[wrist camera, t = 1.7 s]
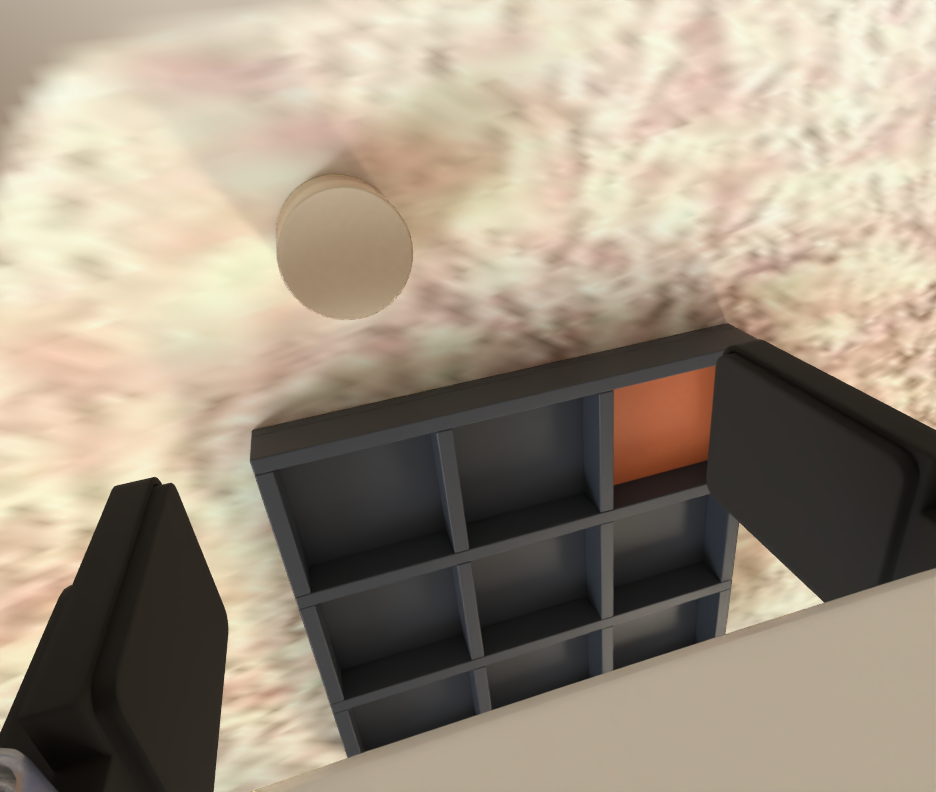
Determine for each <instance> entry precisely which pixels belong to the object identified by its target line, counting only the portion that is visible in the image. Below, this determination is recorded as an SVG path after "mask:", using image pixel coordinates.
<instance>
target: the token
mask: <svg viewBox="0 0 936 792" xmlns="http://www.w3.org/2000/svg"><path fill="white" fill-rule="evenodd" d="M276 249H277V262H278V267H279V271H280V274H281V277H282V279H283V281H284V283H285V285H286V286H287V288H288V289H289V291H290V292H291V294H292V295H293V296H294V297H295V298H296V299H297V300H298V301H299V302H300V303H301V304H302V305H304V306H305V307H306V308H308V309H309V310H311V311H313V312H315V313H317V314H319V315H322V316H325V317H328V318H332V319H339V320H353V319H360V318H364V317H368V316H370V315H373V314H375V313H377V312H379V311H381V310H382V309H384V308H385V307H387V306H388V305H389V304H390V303H391V302H393V301H394V300H395V299H396V297H397V296H398V295H399V294H400V293H401V291H402V289H403V288H404V286H405V284H406V282H407V280H408V278H409V275H410V272H411V267H412V262H413V248H412V241H411V237H410V233H409V231H408V228H407V226H406V224H405V222H404V220H403V218H402V217H401V216H400V214H399V213H398V212H397V210H396V209H395V208H394V207H393V206H392V205H391V204H390V203H389V202H388V201H387V200H386V199H385V198H384V197H383V196H382V195H381V194H380V192H378V191H377V190H376V189H375V188H374V187H372V186H371V185H369V184H368V183H366V182H364V181H362V180H360V179H358V178H355V177H352V176H347V175H339V174H331V175H323V176H319V177H316V178H313V179H311V180H309V181H307V182H305V183H303V184H302V185H300V186H299V187H298V188H296V189H295V190H294V191H293V192H292V193H291V194H290V196H289V197H288V198H287V200H286V201H285V203H284V205H283V206H282V208H281V211H280V214H279V216H278V221H277V228H276Z"/></svg>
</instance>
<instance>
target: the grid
mask: <svg viewBox="0 0 936 792" xmlns="http://www.w3.org/2000/svg"><path fill="white" fill-rule="evenodd" d="M753 340H758V339H756V338H755V337H753V336H751V335H749V334H747V333H745V332H743V331H741V330H739V329H738V328H735V327H734V326H732V325H730V324H723V325H719V326H714V327H710V328H706V329H701V330H697V331H692V332H688V333H683V334H679V335H674V336H670V337H666V338H661V339H657V340H652V341H648V342H643V343H639V344H634V345H630V346H626V347H621V348H617V349H612V350H608V351H603V352H599V353H594V354H590V355H585V356H581V357H577V358H572V359H568V360H563V361H559V362H554V363H550V364H545V365H541V366H537V367H532V368H528V369H523V370H519V371H514V372H510V373H505V374H501V375H496V376H492V377H488V378H483V379H479V380H474V381H470V382H465V383H461V384H456V385H452V386H448V387H443V388H439V389H434V390H430V391H425V392H421V393H416V394H412V395H408V396H403V397H399V398H394V399H390V400H385V401H381V402H376V403H372V404H367V405H363V406H359V407H354V408H350V409H345V410H341V411H336V412H332V413H327V414H323V415H319V416H314V417H310V418H305V419H301V420H296V421H292V422H287V423H283V424H279V425H274V426H270V427H265V428H261V429H256V430H253V431H252V437H251V453H250V463H251V466H252V469H253V472H254V474H255V478H256V481H257V484H258V487H259V490H260V493H261V496H262V499H263V502H264V505H265V508H266V511H267V515H268V518H269V521H270V524H271V527H272V530H273V533H274V536H275V539H276V542H277V545H278V548H279V551H280V554H281V557H282V560H283V563H284V566H285V569H286V572H287V575H288V578H289V581H290V584H291V587H292V590H293V593H294V596H295V599H296V602H297V605H298V608H299V611H300V614H301V618H302V621H303V624H304V627H305V630H306V633H307V636H308V639H309V642H310V645H311V648H312V651H313V654H314V657H315V660H316V663H317V666H318V669H319V672H320V675H321V678H322V681H323V684H324V687H325V690H326V693H327V696H328V699H329V702H330V705H331V708H332V712H333V715H334V718H335V721H336V724H337V727H338V730H339V733H340V736H341V739H342V742H343V745H344V748H345V751H346V754H347V757H348V758H350V757H352V756H355V755H358V754H361V753H364V752H367V751H370V750H373V749H376V748H379V747H382V746H385V745H388V744H391V743H394V742H397V741H400V740H403V739H406V738H409V737H412V736H415V735H418V734H421V733H424V732H427V731H430V730H434V729H437V728H440V727H443V726H446V725H449V724H452V723H455V722H458V721H461V720H464V719H467V718H470V717H473V716H476V715H479V714H482V713H485V712H488V711H491V710H494V709H497V708H500V707H503V706H506V705H509V704H512V703H515V702H519V701H522V700H525V699H528V698H531V697H534V696H537V695H540V694H543V693H546V692H549V691H552V690H555V689H558V688H561V687H564V686H567V685H570V684H573V683H576V682H580V681H583V680H586V679H589V678H592V677H595V676H598V675H601V674H604V673H607V672H610V671H613V670H617V669H620V668H623V667H626V666H629V665H632V664H635V663H638V662H641V661H644V660H647V659H651V658H654V657H657V656H660V655H663V654H666V653H669V652H672V651H675V650H678V649H681V648H685V647H688V646H691V645H694V644H697V643H700V642H703V641H706V640H709V639H713V638H716V637H719V636H722V635H725V632H726V624H727V616H728V608H729V600H730V592H731V584H732V575H733V567H734V559H735V551H736V543H737V535H738V527H739V522H738V521H737V520H736V519H735V518H734V517H733V516H732V515H731V514H730V513H729V512H728V511H727V510H726V509H725V508H724V507H723V506H722V505H720V504H719V503H718V502H717V501H716V500H715V499H714V498H713V496H712V495H711V493H710V492H709V489H708V487H707V482H706V475H707V463H708V452H709V440H710V428H711V416H712V404H713V392H714V380H715V368H716V362H717V360H718V358H719V357H720V356H722V355H723V352H724V351H725V349H726V348H727V347H728V346H731V345H736V344H740V343H745V342H749V341H753Z"/></svg>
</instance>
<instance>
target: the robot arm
mask: <svg viewBox="0 0 936 792" xmlns="http://www.w3.org/2000/svg"><path fill="white" fill-rule="evenodd" d="M706 482H707V487H708V489H709V492H710V493H711V495H712V496H713V498H714V499H715V500H716V501H717V502H718V503H719V504H720V505H722V506H723V507H724V508H725V509H726V510H727V511H728V512H729V513H730V514H731V515H732V516H733V517H734V518H735V519H736V520H737V521H738V522H740V523H741V524H742V525H743V526H744V527H745V528H746V529H747V530H748V531H749V532H750V533H751V534H752V535H753V536H754V537H755V538H756V539H758V540H759V541H760V542H761V543H762V544H763V545H764V546H765V547H766V548H767V549H768V550H769V551H770V552H771V553H772V554H773V555H774V556H776V557H777V558H778V559H779V560H780V561H781V562H782V563H783V564H784V565H785V566H786V567H787V568H788V569H789V570H790V571H791V572H792V573H794V574H795V575H796V576H797V577H798V578H799V579H800V580H801V581H802V582H803V583H804V584H805V585H806V586H807V587H808V588H809V589H810V590H812V591H813V592H814V593H815V594H816V595H817V596H818V597H819V598H820V599H821V600H822V601H823V602H824V603H822V604H819V605H816V606H813V607H810V608H807V609H803V610H800V611H797V612H794V613H791V614H788V615H784V616H781V617H778V618H775V619H772V620H769V621H765V622H762V623H759V624H756V625H753V626H750V627H747V628H744V629H741V630H737V631H734V632H731V633H728V634H725V635H722V636H719V637H716V638H713V639H709V640H706V641H703V642H700V643H697V644H694V645H691V646H688V647H685V648H681V649H678V650H675V651H672V652H669V653H666V654H663V655H660V656H657V657H654V658H651V659H647V660H644V661H641V662H638V663H635V664H632V665H629V666H626V667H623V668H620V669H617V670H613V671H610V672H607V673H604V674H601V675H598V676H595V677H592V678H589V679H586V680H583V681H580V682H576V683H573V684H570V685H567V686H564V687H561V688H558V689H555V690H552V691H549V692H546V693H543V694H540V695H537V696H534V697H531V698H528V699H525V700H522V701H519V702H515V703H512V704H509V705H506V706H503V707H500V708H497V709H494V710H491V711H488V712H485V713H482V714H479V715H476V716H473V717H470V718H467V719H464V720H461V721H458V722H455V723H452V724H449V725H446V726H443V727H440V728H437V729H434V730H430V731H427V732H424V733H421V734H418V735H415V736H412V737H409V738H406V739H403V740H400V741H397V742H394V743H391V744H388V745H385V746H382V747H379V748H376V749H373V750H370V751H367V752H364V753H361V754H358V755H355V756H352V757H350V758H347V759H344V760H341V761H338V762H335V763H332V764H329V765H326V766H324V767H321V768H318V769H315V770H312V771H309V772H306V773H303V774H301V775H298V776H295V777H292V778H289V779H286V780H283V781H280V782H278V783H275V784H272V785H269V786H266V787H263V788H260V789H257V790H254V791H252V792H936V430H934V429H933V428H931V427H929V426H927V425H925V424H923V423H921V422H919V421H917V420H915V419H913V418H911V417H910V416H908V415H906V414H904V413H902V412H900V411H898V410H896V409H894V408H892V407H890V406H888V405H887V404H885V403H883V402H881V401H879V400H877V399H875V398H873V397H871V396H869V395H867V394H865V393H864V392H862V391H860V390H858V389H856V388H854V387H852V386H850V385H848V384H846V383H844V382H842V381H841V380H839V379H837V378H835V377H833V376H831V375H829V374H827V373H825V372H823V371H821V370H819V369H817V368H816V367H814V366H812V365H810V364H808V363H806V362H804V361H802V360H800V359H798V358H796V357H794V356H793V355H791V354H789V353H787V352H785V351H783V350H781V349H779V348H777V347H775V346H773V345H771V344H770V343H768V342H766V341H763V340H760V339H759V340H753V341H749V342H745V343H740V344H736V345H731V346H728V347H727V348H726V349H725V351H724V352H723V355H722V356H720V357H719V358H718V360H717V362H716V368H715V380H714V392H713V404H712V416H711V428H710V440H709V452H708V463H707V475H706ZM227 642H228V620H227V615H226V611H225V608H224V605H223V603H222V600H221V598H220V595H219V593H218V590H217V588H216V585H215V583H214V580H213V578H212V575H211V573H210V570H209V568H208V565H207V563H206V560H205V558H204V555H203V553H202V551H201V548H200V546H199V543H198V541H197V538H196V536H195V533H194V531H193V528H192V526H191V523H190V521H189V518H188V516H187V513H186V511H185V508H184V506H183V503H182V501H181V498H180V496H179V493H178V491H177V489H176V487H175V486H174V484H172V483H168V484H163V485H162V483H161V482H160V481H159V479H158V478H156V477H152V478H148V479H143V480H139V481H135V482H130V483H126V484H121V485H117V486H114V488H113V489H112V491H111V493H110V496H109V498H108V501H107V503H106V505H105V508H104V510H103V513H102V515H101V517H100V520H99V522H98V525H97V527H96V529H95V532H94V534H93V537H92V539H91V541H90V544H89V546H88V549H87V551H86V553H85V556H84V558H83V561H82V563H81V565H80V568H79V570H78V573H77V575H76V577H75V580H74V582H73V585H70V586H69V587H67V588H66V589H64V590H63V592H62V593H61V595H60V597H59V598H58V601H57V603H56V605H55V608H54V610H53V612H52V615H51V617H50V619H49V622H48V624H47V626H46V628H45V631H44V633H43V635H42V638H41V640H40V642H39V645H38V647H37V649H36V652H35V654H34V656H33V659H32V661H31V663H30V665H29V668H28V670H27V672H26V675H25V677H24V679H23V682H22V684H21V686H20V689H19V691H18V693H17V695H16V698H15V700H14V702H13V705H12V707H11V709H10V712H9V714H8V716H7V719H6V721H5V723H4V726H3V728H2V730H1V732H0V792H213V791H214V781H215V770H216V759H217V749H218V738H219V727H220V717H221V706H222V695H223V685H224V674H225V663H226V653H227Z"/></svg>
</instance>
